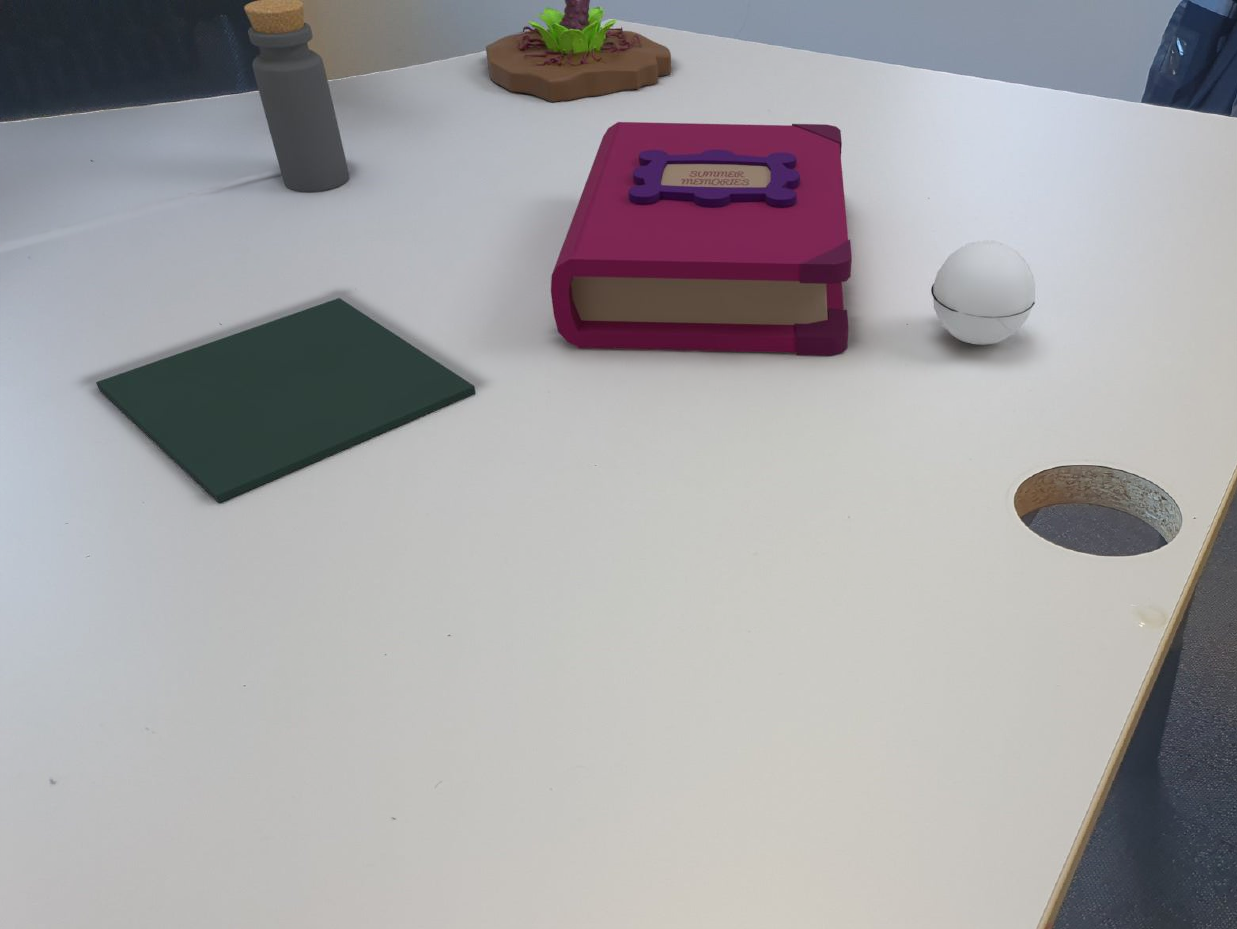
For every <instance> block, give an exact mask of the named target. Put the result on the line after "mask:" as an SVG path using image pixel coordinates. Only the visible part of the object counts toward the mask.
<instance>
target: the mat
mask: <svg viewBox="0 0 1237 929" xmlns="http://www.w3.org/2000/svg"><path fill="white" fill-rule="evenodd" d="M95 383H96V386H97V389H98V390H99V391H100V392H101V393H102V395H104V396H105V397H107V398H108V400H109V401H110V402H112V403H113V405H115V406H116V407H117V408H118V409H119V410H120V411H121V412H122V413H123V414H124V415H125V416H126V417H128V418H129V419H130V420H131V421H132V422H133V423H134V424H135V425H136V426H137V428H140V430H141V431H142V432H144V434H145V435H147V436H148V437H149V439H151V440H152V441H153V442H154V443H155V444H156V445H157V446H158V447H159V448H160V449H161V450H163V451H164V453H166V454H167V455H168V456H169V458H170V459H172V460H173V461H174V463H176V464H177V465H178V466H179V467H181V468H182V469H183V471H185V472H186V473H187V474H188V475H189V476H190V477H191V478H192V479H193V480H194V481H195V482H196V483H197V484H199V485H200V487H202V488H203V489H204V490H205V491H206V492H207V493H208V494H209V495H210V496H211V497H212V498H213V499H214V500H215V501H217V502H218V503H219V504H221V503H223V502H225V501H228V500H231V499H232V498H235V497H237V496H239V495H242V494H244V493H246V492H249V491H251V490H254V489H255V488H257V487H260V486H262V485H265V484H267V483H269V482H272V481H275V480H276V479H279V478H281V477H283V476H286V475H288V474H290V473H293V472H296V471H297V470H300V469H302V468H304V467H306V466H308V465H309V466H310V465H312V464H314V463H317V462H319V461H321V460H324V459H326V458H328V457H330V456H333V455H335V454H337V453H339V452H342V451H344V450H347V449H349V448H351V447H353V446H355V445H358V444H361V443H363V442H365V441H369V440H370V439H372V438H375V437H377V436H380V435H381V434H383V433H386V432H388V431H391V430H394V429H396V428H398V427H400V426H403V425H405V424H408V423H409V422H411V421H414V420H416V419H419V418H421V417H423V416H425V415H429V414H431V413H433V412H435V411H438V410H440V409H442V408H445V407H447V406H449V405H451V404H454V403H456V402H458V401H460V400H463V399H465V398H467V397H470V396H473V395H475V394H476V393H477V392H476V388H475V385H474V384H472V383H471V382H469V381H467V380H466V379H464V378H463V377H462V376H460V375H458V374H457V373H455V372H454V371H452V370H451V369H449V368H447V366H444V365H443V364H442V363H440V362H439V361H437V360H435V359H434V358H432V357H431V356H430V355H428V354H427V353H425V352H423V351H422V350H420V349H419V348H417V347H415V346H414V345H412V344H411V343H410V342H408V341H406V339H405V340H404V339H403V338H401V337H400V336H398V335H396V334H395V333H394V332H392V331H391V330H389V329H388V328H386V327H385V326H383V325H382V324H381V323H379V322H377V321H376V320H375V319H372V318H371V317H370V316H368V315H366V314H365V313H363V312H362V311H361V310H359V309H357V308H356V307H354V306H352V305H351V304H350V303H348V302H346V301H345V300H343V298H340V297H338V298H334V299H332V300H328V301H326V302H323V303H321V304H318V305H314V306H312V307H308V308H306V309H303V310H300V311H298V312H294V313H291V314H289V315H285V316H282V317H280V318H277V319H274V320H271V321H268V322H265V323H263V324H260V325H257V326H254V327H251V328H248V329H246V330H245V329H244V330H243V331H240V332H237V333H234V334H231V335H228V336H225V337H223V338H219V339H217V340H214V341H211V342H208V343H204V344H202V345H199V346H196V347H193V348H190V349H187V350H185V351H182V352H178V353H176V354H173V355H170V356H168V357H165V358H162V359H159V360H156V361H153V362H150V363H147V364H144V365H142V366H138V367H136V368H133V369H130V370H127V371H124V372H121V373H118V374H115V375H112V376H109V377H107V378H105V379H104V378H103V379H100V380H98V381H96V382H95Z"/></svg>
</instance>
